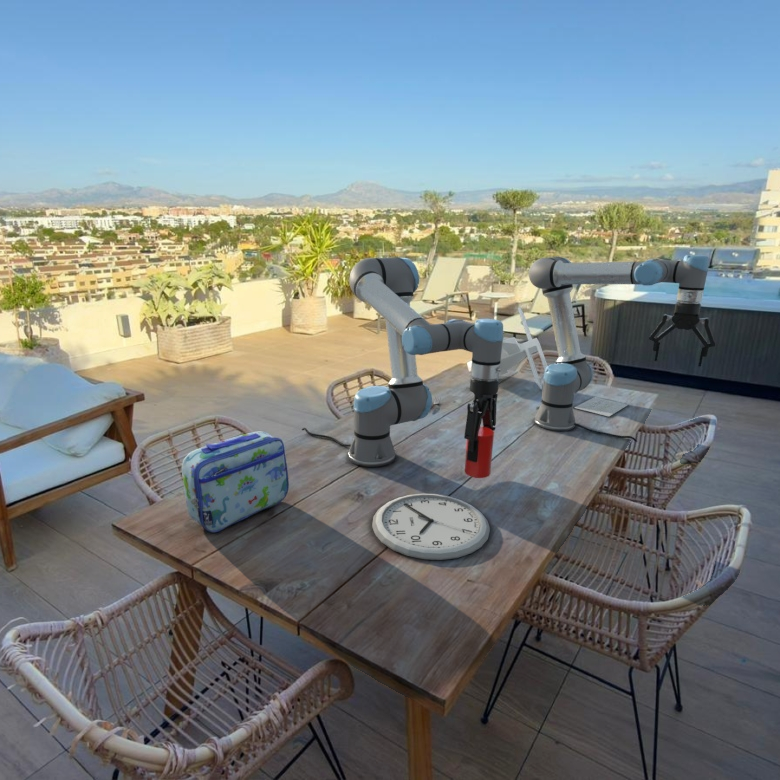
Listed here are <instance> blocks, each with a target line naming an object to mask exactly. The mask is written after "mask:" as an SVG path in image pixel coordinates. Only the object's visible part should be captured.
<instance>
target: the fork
mask: <svg viewBox="0 0 780 780" xmlns="http://www.w3.org/2000/svg"><path fill="white" fill-rule="evenodd" d="M441 398H442V396H441V397H440V396H436V397H435V398H434V400H433V401H432V406H431V409H430V411H431V410H432V409H433V408H434V407H435V406H436V405H439V404H440V402H441Z"/></svg>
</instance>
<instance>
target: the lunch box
mask: <svg viewBox="0 0 780 780" xmlns="http://www.w3.org/2000/svg"><path fill="white" fill-rule="evenodd" d="M286 457H287V456H286V451H285V444H284V441H283V440H282V439H281V438H279V437H274V436H273V435H271V434H270V433H268V432H265V431H262V430H259V431H253V432H248V433H244V434H241V435H240V434H239V435H237V436H233V437H230V438H226V439H224V440H220V441H217V442H214V443H207V444H206V445H204V446H202V447H199V448H196V449H193V450H191V451H190V452H189V453H188V454H187V455H186V456H185V457H184V458H183V460H182V464H181V477H182V483H183V492H184V498H185V503H186V508H187V513H188V515H189V517H190V519H192V520H194V521H195V522H197V523H198V524H199V525H201V527H202V528H203V529H204V530H206V531H208V532H210V533H218V532H222V530H224V529H226V528H229V527H230V526H232V525H234V524H236V523H239V522H241V521H243V520H246V519H247V518H249V517H251V516H253V515H255V514H257V513H259V512H262V511H263V510H266V509H269V508H272V507H274V506H276V505H278V504H280V503H281V502H282V501H284V499H285V498H286V497H287V495H288V492H289V487H290V483H289V473H288V464H287V458H286Z"/></svg>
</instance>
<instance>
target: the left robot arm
mask: <svg viewBox="0 0 780 780" xmlns="http://www.w3.org/2000/svg"><path fill="white" fill-rule="evenodd" d="M348 280H349V281H348V283H349V287H350V290H351V292H352V293H353V294H354V296H355V297H356V298H357V299H358V300H359V301H361V302H363V303H367V304H368V305H369V306H370V307H371V308H372V309H373V310H375V312H376V313H377V314H379V316H381V318H383V319H384V321H385V328H386V329H385V330H386V337H387V338H386V339H387V348H388V355H389V363H390V364H389V365H390V371H391V372H390V373H391V379H390V380H389V381H388V383H387V386H385V385H376V386H375V385H371V386H366V387H363V388H361V389H360V390H358V391H357V392H356V393H355V395H354V400H353V434H354V435H353V439H352V441H351V443H350V444H348V443H347V444H346V443H343V442H340V440H338V439H336V438H334V437H332V436H329V435H324V434H317V433H313V432H310V431H309V430H308V429H307V428H306V427H302V428H301V431H305V432H306V434H308V435H310V436H312V437H313V436H314V437H318V438H319V437H320V438H326V439H330V440H332V441H334V442H336V443H337V444H338V445H340V446H342V447H349V449H348V460H349V461H350V462H351V463H352V464H353V465H357V466H359V467H364V468H365V467H366V468H379V467H384V466H387V465H391V464H392V463H393V462H394V461H395V458H396V450H395V447H394V444H393V441H392V438H391V426H394V425H399V424H405V423H407V422H408V423H409V422H416V421H418V420H422V419H424V418H426V417H427V416H428V415H429V413H430V412H431V410H432V409H431V406H432V405H433V396H432V392H431V390H430V388H429V386H428V385H426V384H425V383H424V382H423V381H424V380H423V379H422V377H420V376H419V375H418V367H417V358H416V356H423V355H424V356H425V355H428V354H434V353H435V354H436V353H440V352H441V353H442V352H449V351H457V350H463V351H467V352H469V353H471V354H472V355H471V356H472V357H471V361H472V365H471V374H470V376H471V377H470V381H469V391H470V392H471V393H473V395H474V396H473V399H472V403H469V402H468V403H467V405H466V406H467V409H466V410H467V413H466V414H467V415H466V421H465V428H464V429H465V430H464V435H463V437H464V438H463V439H464V440H467V439H468V453H467V460H469V461H472V462H477V456H478V443H479V440H478V439H477V438H478V433H479V429H480V427H481V425H482V427H486V428H489V429H492V430H493V431H494V432H495V431H496V427H495V426H496V425H497V401H498V396H499V395H498V393H499V385H500V380H499V378H500V375H499V372H500V371H501V368H500V362H501V351H502V342H503V339H504V323H503V322H502V321H501V320H498V319H494V318H493V319H492V318H478V319H476V320H475V321H474V323H473V322H468V321H466V320H463V319H453V318H452V319H449V320H448V321H446V322H445V323H435V324H434V323H433V324H431V323H430V322H428V321H427V320H426V319H425V318H424V317H423V316H422V315H420V314H419V312H417V311H416V310H415V309H414V308H412V307H411V302H412V301H413V300H414V293H416V292H417V290H418V289H419V285H420V274H419V270H418V268H417V266H416V264H415V263H414V262H413V261H412V260H411V259H410V258H407V257H399V256H394V257H393V256H392V257H367V258H364V259H361V260H359V261H358V262H356V263H355V264H354V265H353V267H352V269H351V271H350V274H349V277H348ZM430 409H431V410H430Z"/></svg>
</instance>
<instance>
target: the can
mask: <svg viewBox="0 0 780 780" xmlns="http://www.w3.org/2000/svg"><path fill="white" fill-rule="evenodd" d="M494 437H495V431H493V430H492V429H489V428H486V427H483V426H480V429H479V433H478V438H477V439H478V440H479V443H478V456H477V462H472V461H469V460H467V453H468V439H466V446H465V447H466V448H465V460H464V474H465V475H467V476H469V477H471V478H474V479H484V478H488V477H490V475H491V470H492V460H493V459H492V458H493V448H494V439H495V438H494Z"/></svg>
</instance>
